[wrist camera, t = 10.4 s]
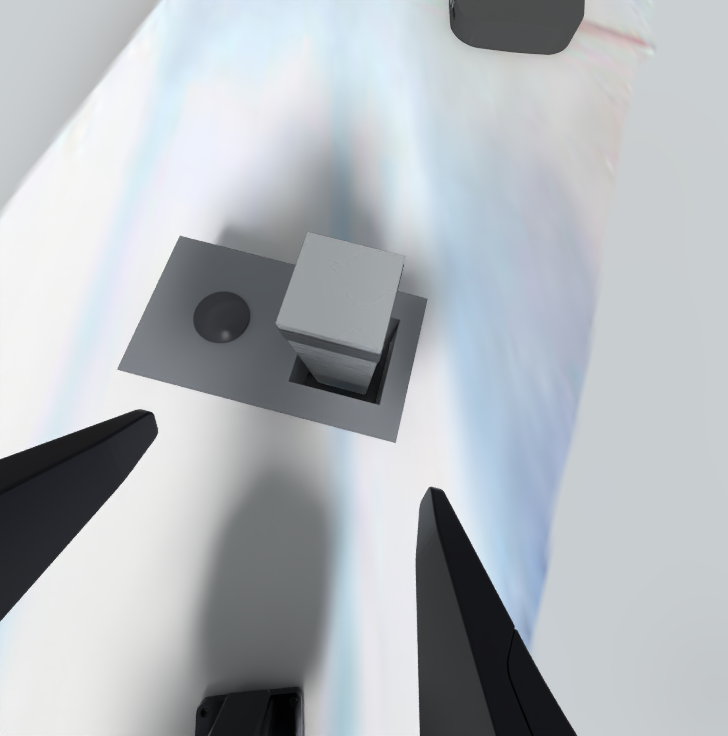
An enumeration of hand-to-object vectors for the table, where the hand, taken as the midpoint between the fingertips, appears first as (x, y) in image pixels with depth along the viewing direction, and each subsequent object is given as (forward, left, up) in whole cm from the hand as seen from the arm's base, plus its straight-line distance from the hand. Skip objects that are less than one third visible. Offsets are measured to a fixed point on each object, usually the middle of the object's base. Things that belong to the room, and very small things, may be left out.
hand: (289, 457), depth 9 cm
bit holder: (+7, +2, -13) cm, 15 cm away
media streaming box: (+49, -24, -14) cm, 56 cm away
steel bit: (+6, -2, -13) cm, 15 cm away
